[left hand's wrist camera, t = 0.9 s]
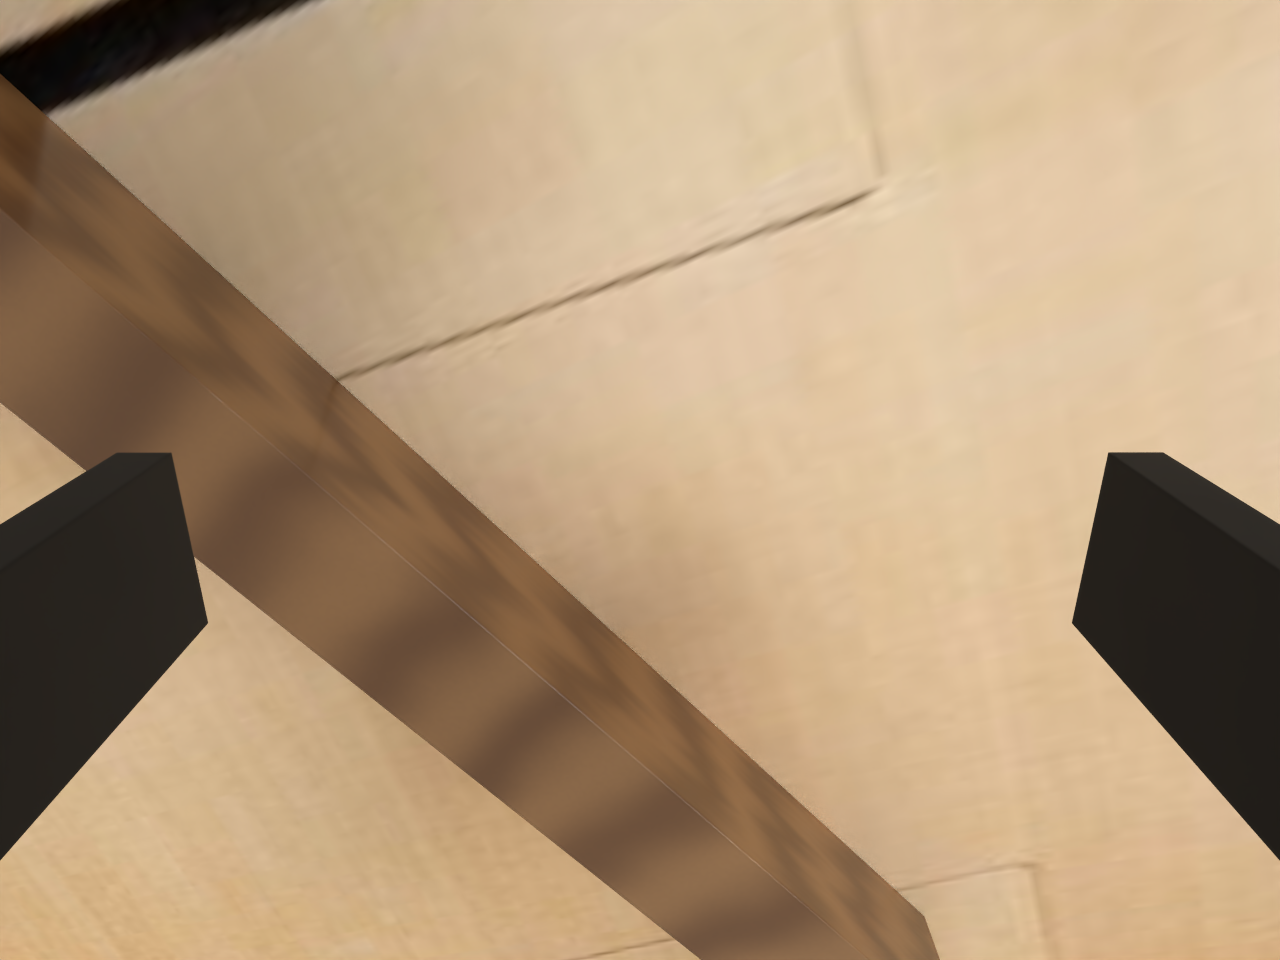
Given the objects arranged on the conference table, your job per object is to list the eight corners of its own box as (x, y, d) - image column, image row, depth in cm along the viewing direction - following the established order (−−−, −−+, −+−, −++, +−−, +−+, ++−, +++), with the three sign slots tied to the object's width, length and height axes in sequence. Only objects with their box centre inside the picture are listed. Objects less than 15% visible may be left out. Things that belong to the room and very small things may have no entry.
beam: (-282, 6, 32) (-542, -27, 25) (-208, -118, 30) (-463, -191, 23) (845, 965, 50) (878, 1101, 43) (924, 916, 49) (972, 1048, 42)
